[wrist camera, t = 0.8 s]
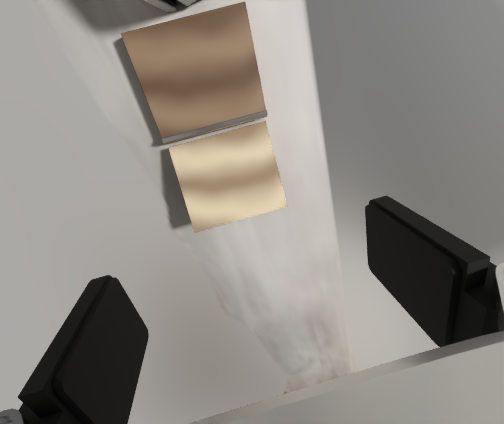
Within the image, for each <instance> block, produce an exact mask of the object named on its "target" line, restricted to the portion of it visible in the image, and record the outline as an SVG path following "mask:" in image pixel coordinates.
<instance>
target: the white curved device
mask: <svg viewBox="0 0 504 424" xmlns="http://www.w3.org/2000/svg"><path fill="white" fill-rule="evenodd" d="M143 1H145V2H147V3H149V4H151V5H153V6H155V7H157V8H159V9H161V10H163V11H165V12H171V11H176V6H178V4H177V1H178V2H179V3H181V4H184V5H186V6H189V5H191V4H192V3H194V2H195V1H196V0H143Z"/></svg>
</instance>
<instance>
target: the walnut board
mask: <svg viewBox="0 0 504 424" xmlns="http://www.w3.org/2000/svg"><path fill="white" fill-rule="evenodd" d="M121 36H122V38H123V41H124V43H125V46H126V48H127V51H128V53H129V56H130V59H131V61H132V64H133V66H134V69H135V71H136V74H137V76H138V79H139V81H140V84H141V86H142V89H143V92H144V94H145V97H146V99H147V102H148V104H149V107H150V109H151V112H152V114H153V117H154V119H155V122H156V124H157V127H158V130H159V132H160V135H161V137H162V142H163V143H164V144H168V143H171V142H175V141H179V140H182V139H186V138H190V137H194V136H197V135H201V134H205V133H208V132H212V131H216V130H219V129H223V128H227V127H230V126H234V125H238V124H241V123H245V122H249V121H253V120H256V119H260V118H264V117H267V111H266V108H265V103H264V98H263V92H262V87H261V82H260V77H259V72H258V66H257V61H256V56H255V51H254V46H253V40H252V35H251V30H250V25H249V19H248V14H247V9H246V4H245V2H242V3H238V4H234V5H230V6H226V7H222V8H218V9H214V10H210V11H206V12H203V13H199V14H195V15H191V16H187V17H183V18H179V19H175V20H171V21H168V22H164V23H160V24H156V25H152V26H148V27H144V28H140V29H136V30H132V31H129V32H125V33H121Z"/></svg>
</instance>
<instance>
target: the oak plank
mask: <svg viewBox="0 0 504 424" xmlns="http://www.w3.org/2000/svg"><path fill="white" fill-rule="evenodd" d="M169 151H170V155H171V158H172V161H173V164H174V167H175V171H176V174H177V177H178V180H179V184H180V187H181V190H182V193H183V197H184V200H185V203H186V206H187V210H188V213H189V216H190V219H191V223H192V226H193V229H194V232H199V231H203V230H206V229H210V228H213V227H217V226H220V225H224V224H227V223H231V222H234V221H238V220H241V219H245V218H249V217H252V216H256V215H259V214H263V213H266V212H270V211H273V210H277V209H280V208H284V207H288V206H287V202H286V198H285V194H284V190H283V186H282V183H281V179H280V175H279V171H278V167H277V163H276V160H275V156H274V152H273V148H272V144H271V140H270V137H269V133H268V129H267V125H266V121H265V122H261V123H258V124H254V125H250V126H247V127H243V128H239V129H236V130H232V131H228V132H225V133H221V134H217V135H214V136H210V137H206V138H203V139H199V140H195V141H191V142H188V143H184V144H180V145H177V146H173V147H169Z"/></svg>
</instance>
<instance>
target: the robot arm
mask: <svg viewBox="0 0 504 424" xmlns="http://www.w3.org/2000/svg"><path fill="white" fill-rule="evenodd" d="M365 215H366V233H367V254H368V265H369V268H370V270H371V272H372V273H373V274H374V275H375V276H376V277H377V279H378V280H379V281H380V282H381V283H382V284H383V285H384V286H385V288H386V289H387V290H388V291H389V292H390V293H391V294H392V295H393V297H394V298H395V299H396V300H397V301H398V302H399V303H400V304H401V306H402V307H403V308H404V309H405V310H406V311H407V312H408V313H409V314H410V316H411V317H412V318H413V319H414V320H415V321H416V322H417V323H418V325H419V326H420V327H421V328H422V329H423V330H424V331H425V332H426V334H427V335H428V336H429V337H430V338H431V339H432V340H433V341H434V342H435V343H436V344H437V345H438V346H439V347H440V348H436V349H433V350H429V351H426V352H422V353H419V354H415V355H413V356H409V357H406V358H402V359H399V360H396V361H392V362H389V363H386V364H382V365H379V366H375V367H372V368H369V369H365V370H362V371H359V372H355V373H352V374H349V375H345V376H342V377H339V378H335V379H332V380H329V381H325V382H322V383H319V384H315V385H312V386H309V387H306V388H302V389H299V390H296V391H293V392H289V393H286V394H283V395H280V396H276V397H273V398H270V399H266V400H263V401H260V402H257V403H253V404H250V405H247V406H244V407H240V408H237V409H234V410H231V411H227V412H224V413H221V414H217V415H214V416H211V417H208V418H205V419H201V420H198V421H195V422H192V423H189V424H504V262H502V263H500V264H499V265H498V266H496V265H494V264H492V263H491V262H489V261H490V256H488V255H486V254H484V253H483V252H481V251H479V250H478V249H476V248H474V247H473V246H471V245H469V244H468V243H466V242H464V241H463V240H461V239H459V238H457V237H456V236H454V235H452V234H451V233H449V232H447V231H446V230H444V229H442V228H441V227H439V226H437V225H436V224H434V223H432V222H430V221H429V220H427V219H426V218H424V217H422V216H420V215H419V214H417V213H415V212H414V211H412V210H410V209H409V208H407V207H405V206H403V205H402V204H400V203H399V202H397V201H395V200H394V199H392V198H390V197H388V196H383V197H380V198H376V199H373V200H370V201H369V205H367V206H366V207H365ZM147 341H148V329H147V327H146V325H145V324H144V322H143V320H142V319H141V317H140V315H139V314H138V312H137V311H136V309H135V307H134V305H133V304H132V302H131V300H130V299H129V297H128V295H127V294H126V292H125V290H124V289H123V287H122V285H121V284H120V282H119V280H118V279H117V278H112V277H111V276H110V275H107V276H103V277H99V278H96V279H93V280H91V281H90V282H89V283H88V285H87V287H86V288H85V290H84V292H83V293H82V295H81V296H80V298H79V299H78V301H77V303H76V304H75V306H74V308H73V309H72V311H71V312H70V314H69V315H68V317H67V319H66V320H65V322H64V324H63V325H62V327H61V328H60V330H59V332H58V333H57V335H56V336H55V338H54V340H53V341H52V343H51V344H50V346H49V348H48V349H47V351H46V352H45V354H44V356H43V357H42V359H41V361H40V362H39V364H38V365H37V367H36V369H35V370H34V372H33V373H32V375H31V376H30V378H29V380H28V381H27V383H26V384H25V386H24V388H23V389H22V391H21V393H20V394H19V396H18V398H19V399H20V400H21V401H22V402H23V404H22V406H21V407H20V409H19V410H16V409H8V410H4V411H2V412H0V424H127V423H128V419H129V415H130V411H131V407H132V403H133V399H134V395H135V390H136V386H137V383H138V378H139V374H140V370H141V366H142V362H143V358H144V354H145V350H146V346H147Z"/></svg>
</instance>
